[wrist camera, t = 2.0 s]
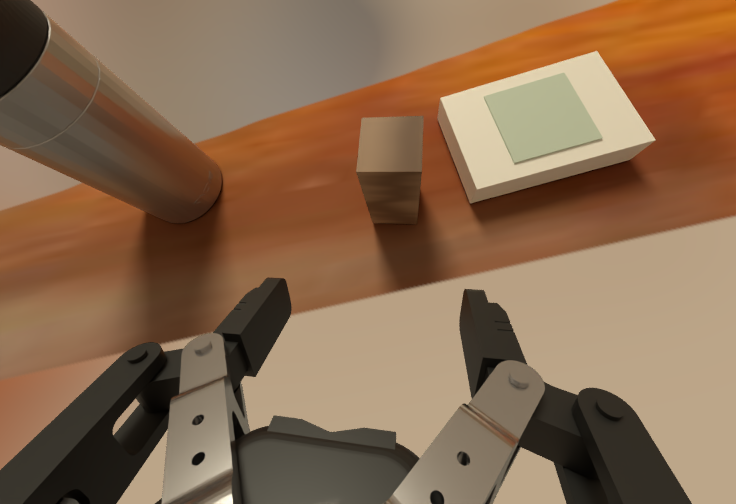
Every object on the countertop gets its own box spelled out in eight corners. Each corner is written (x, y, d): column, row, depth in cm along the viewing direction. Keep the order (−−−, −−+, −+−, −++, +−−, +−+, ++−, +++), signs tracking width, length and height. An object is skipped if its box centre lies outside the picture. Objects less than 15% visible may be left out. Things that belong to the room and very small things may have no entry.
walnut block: (372, 223, 30) (356, 171, 20) (376, 183, 31) (361, 117, 21) (417, 224, 29) (421, 171, 19) (418, 184, 30) (423, 115, 21)
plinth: (470, 203, 29) (477, 188, 26) (437, 118, 32) (440, 96, 29) (629, 159, 28) (657, 138, 25) (579, 76, 31) (598, 49, 28)
